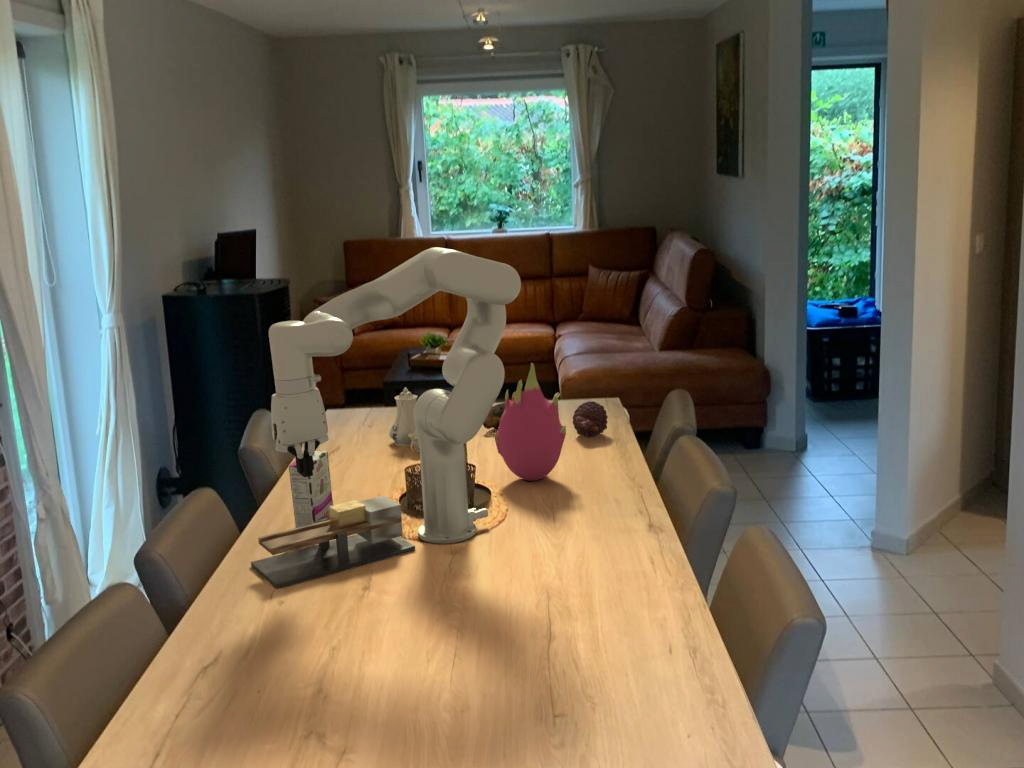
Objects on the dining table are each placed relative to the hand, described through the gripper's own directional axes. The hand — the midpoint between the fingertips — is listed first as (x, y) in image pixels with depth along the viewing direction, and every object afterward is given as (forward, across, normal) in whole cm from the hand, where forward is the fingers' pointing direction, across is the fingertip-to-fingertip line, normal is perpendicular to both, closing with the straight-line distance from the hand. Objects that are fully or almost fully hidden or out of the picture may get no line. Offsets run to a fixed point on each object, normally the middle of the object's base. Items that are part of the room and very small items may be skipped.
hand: (306, 474), depth 200 cm
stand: (+19, -4, 0) cm, 19 cm away
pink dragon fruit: (+21, -64, -15) cm, 69 cm away
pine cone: (+22, -99, -36) cm, 107 cm away
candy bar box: (+19, -8, -19) cm, 28 cm away
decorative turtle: (+22, -85, -59) cm, 106 cm away
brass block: (+13, -8, 0) cm, 15 cm away
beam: (+16, -4, 0) cm, 17 cm away
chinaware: (+21, -59, -64) cm, 89 cm away
